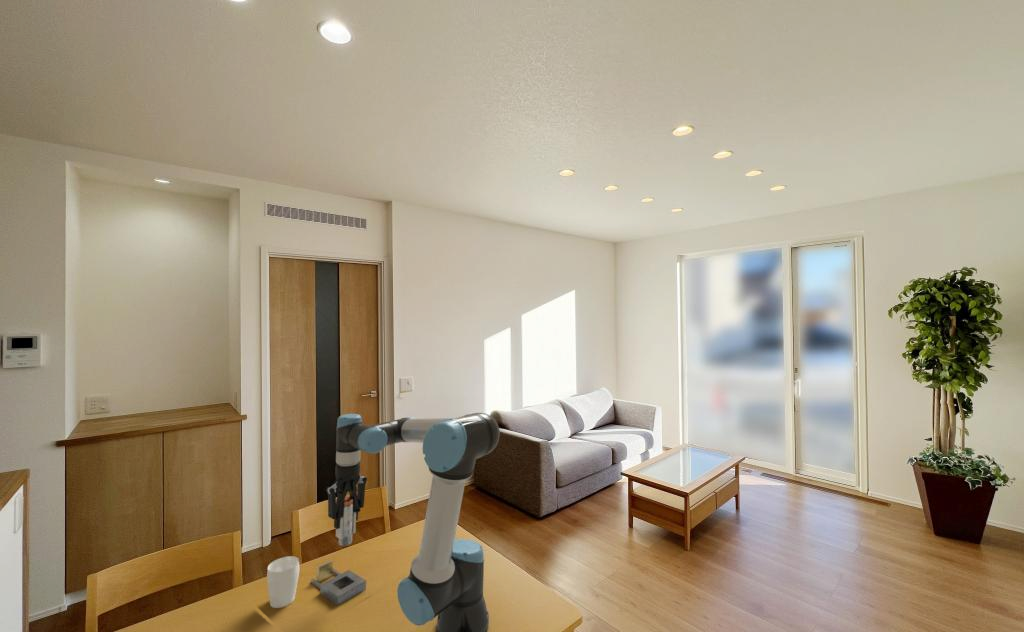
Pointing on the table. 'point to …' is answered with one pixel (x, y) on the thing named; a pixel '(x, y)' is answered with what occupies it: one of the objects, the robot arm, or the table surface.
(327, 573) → the keeper
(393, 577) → the table surface
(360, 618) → the table surface
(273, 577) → the cup
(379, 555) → the table surface
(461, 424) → the robot arm
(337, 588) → the block
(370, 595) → the table surface
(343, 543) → the pin
